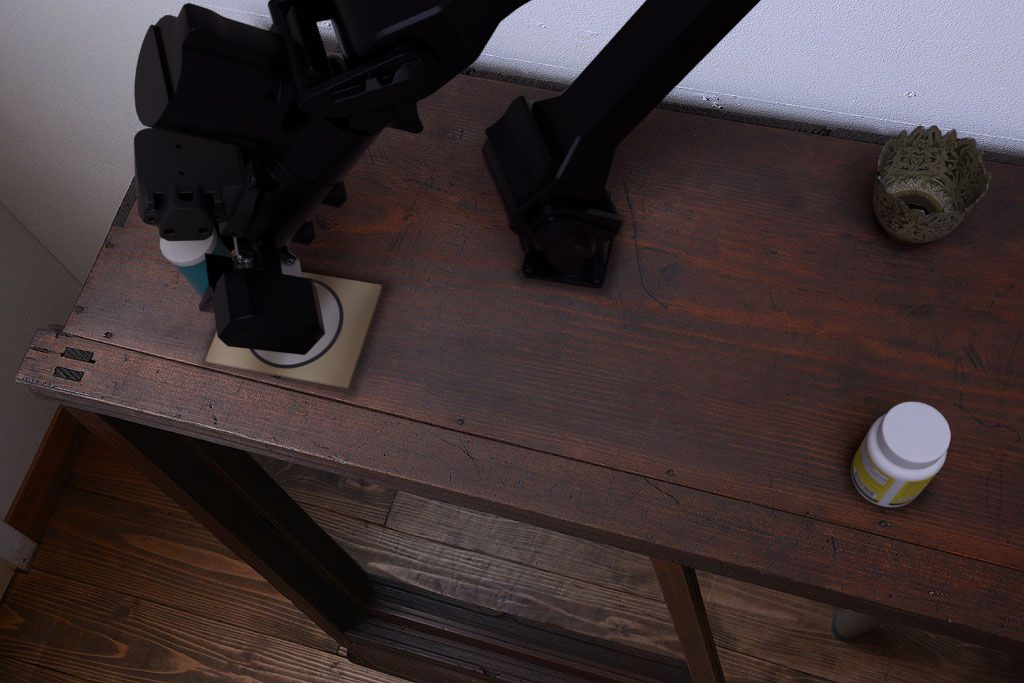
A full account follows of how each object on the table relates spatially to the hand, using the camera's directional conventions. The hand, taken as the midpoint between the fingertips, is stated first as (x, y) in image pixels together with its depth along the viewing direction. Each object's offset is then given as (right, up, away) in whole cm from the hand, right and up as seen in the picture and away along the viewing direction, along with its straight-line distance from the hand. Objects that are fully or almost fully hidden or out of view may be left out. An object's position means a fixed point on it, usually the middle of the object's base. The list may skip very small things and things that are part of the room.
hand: (202, 287), depth 67 cm
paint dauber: (+2, -2, +6) cm, 7 cm away
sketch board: (+4, -2, +9) cm, 11 cm away
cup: (+52, +5, +7) cm, 52 cm away
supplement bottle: (+47, -13, -1) cm, 49 cm away
